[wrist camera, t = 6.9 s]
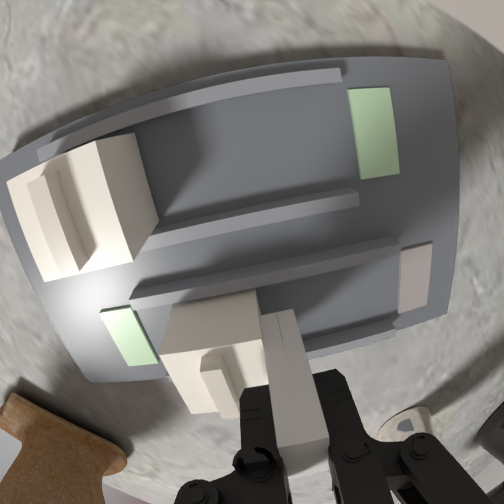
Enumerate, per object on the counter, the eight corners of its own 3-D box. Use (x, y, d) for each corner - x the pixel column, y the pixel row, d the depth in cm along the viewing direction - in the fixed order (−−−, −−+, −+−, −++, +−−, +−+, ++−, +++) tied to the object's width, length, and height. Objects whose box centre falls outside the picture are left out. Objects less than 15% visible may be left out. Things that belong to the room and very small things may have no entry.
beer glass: (359, 440, 26) (397, 563, 12) (408, 398, 23) (468, 530, 10) (399, 443, 27) (438, 545, 14) (443, 405, 25) (497, 512, 12)
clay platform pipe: (148, 437, 24) (129, 581, 10) (113, 469, 27) (95, 572, 14) (4, 356, 19) (-65, 485, 6) (2, 408, 23) (-40, 505, 9)
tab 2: (254, 283, 15) (263, 353, 10) (268, 345, 16) (279, 416, 12) (173, 299, 15) (155, 369, 10) (197, 357, 16) (190, 427, 12)
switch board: (426, 63, 12) (459, 58, 10) (432, 297, 19) (454, 322, 16) (8, 160, 13) (-24, 171, 10) (98, 363, 19) (85, 393, 17)
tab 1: (134, 132, 11) (83, 143, 7) (159, 220, 13) (126, 273, 9) (58, 161, 12) (-8, 187, 7) (84, 240, 13) (34, 293, 9)
